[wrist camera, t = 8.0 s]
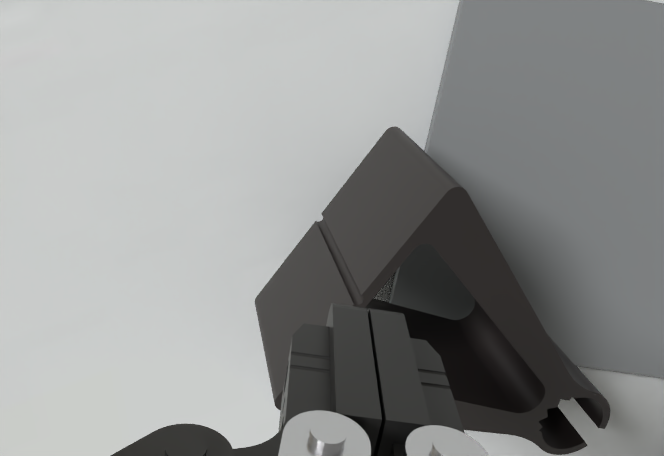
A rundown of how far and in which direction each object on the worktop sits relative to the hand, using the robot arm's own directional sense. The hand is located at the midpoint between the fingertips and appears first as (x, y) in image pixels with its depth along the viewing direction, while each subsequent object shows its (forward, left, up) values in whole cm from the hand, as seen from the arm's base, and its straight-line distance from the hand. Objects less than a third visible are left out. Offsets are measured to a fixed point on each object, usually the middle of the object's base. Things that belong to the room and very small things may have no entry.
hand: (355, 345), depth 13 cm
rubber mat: (-11, 0, -14) cm, 18 cm away
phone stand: (0, +1, -8) cm, 8 cm away
